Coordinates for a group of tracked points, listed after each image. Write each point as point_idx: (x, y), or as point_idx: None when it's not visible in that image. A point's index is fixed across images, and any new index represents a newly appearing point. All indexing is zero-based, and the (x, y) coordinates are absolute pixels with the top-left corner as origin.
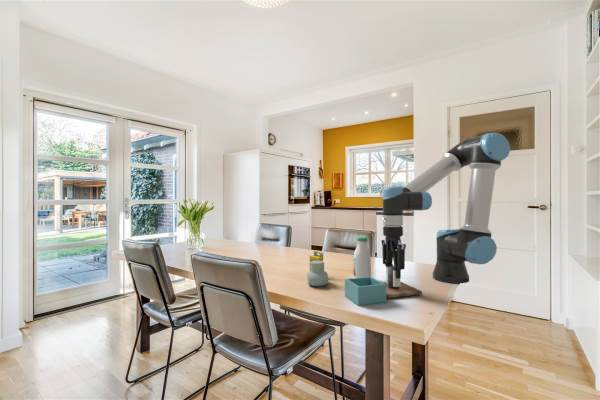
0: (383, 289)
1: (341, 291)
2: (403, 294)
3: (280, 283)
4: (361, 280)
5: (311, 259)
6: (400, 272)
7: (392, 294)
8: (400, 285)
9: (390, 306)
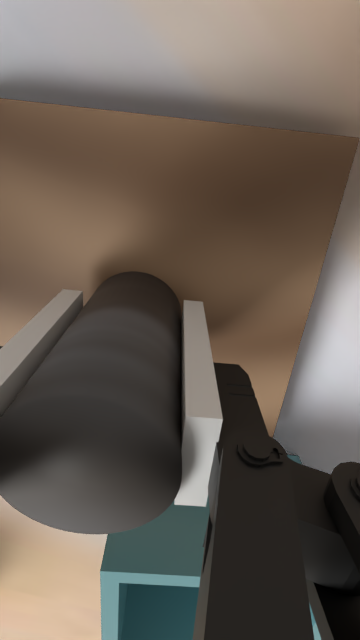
0: None
1: (29, 529)
2: (296, 338)
3: None
4: (121, 601)
5: None
6: (262, 422)
7: (274, 419)
8: (102, 212)
9: (333, 454)
